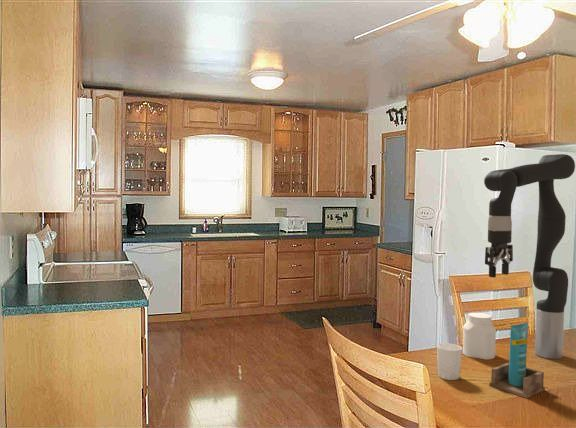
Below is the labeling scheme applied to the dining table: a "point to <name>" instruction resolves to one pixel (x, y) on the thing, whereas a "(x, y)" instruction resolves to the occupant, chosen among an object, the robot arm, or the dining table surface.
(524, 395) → the u rest
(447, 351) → the white cup
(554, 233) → the robot arm
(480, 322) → the jar
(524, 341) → the tube
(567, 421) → the dining table surface
